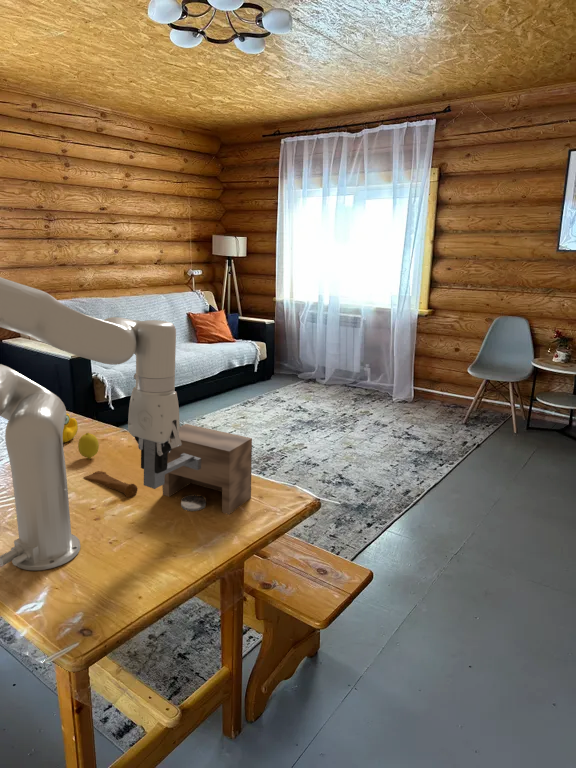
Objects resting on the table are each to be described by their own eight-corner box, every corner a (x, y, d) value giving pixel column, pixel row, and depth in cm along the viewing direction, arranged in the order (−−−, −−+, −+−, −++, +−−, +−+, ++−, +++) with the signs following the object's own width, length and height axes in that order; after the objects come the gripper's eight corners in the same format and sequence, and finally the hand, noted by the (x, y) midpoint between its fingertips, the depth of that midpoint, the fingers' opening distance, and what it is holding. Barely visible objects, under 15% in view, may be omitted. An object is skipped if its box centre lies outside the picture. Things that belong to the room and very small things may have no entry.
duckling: (59, 449, 161) (56, 417, 158) (44, 446, 162) (41, 415, 160) (83, 436, 172) (81, 407, 169) (69, 434, 173) (66, 405, 170)
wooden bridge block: (229, 514, 126) (229, 451, 121) (162, 494, 134) (160, 435, 130) (251, 497, 134) (251, 438, 130) (187, 480, 143) (186, 423, 139)
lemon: (101, 460, 154) (100, 434, 152) (81, 463, 151) (80, 437, 149) (96, 453, 158) (94, 428, 156) (77, 457, 155) (75, 431, 153)
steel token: (196, 514, 126) (196, 508, 125) (175, 508, 128) (175, 502, 128) (210, 504, 131) (210, 498, 130) (191, 498, 133) (191, 492, 133)
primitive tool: (82, 479, 142) (81, 467, 142) (100, 472, 147) (99, 460, 146) (127, 500, 132) (126, 487, 131) (145, 493, 136) (144, 480, 135)
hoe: (158, 490, 108) (159, 434, 106) (139, 483, 111) (140, 429, 108) (200, 468, 121) (202, 418, 118) (183, 463, 123) (185, 413, 120)
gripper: (111, 379, 106) (111, 464, 110) (175, 394, 99) (172, 485, 103) (138, 373, 112) (137, 454, 117) (200, 387, 105) (196, 473, 110)
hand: (154, 468), depth 110 cm, fingers closed on hoe, 3 cm apart
